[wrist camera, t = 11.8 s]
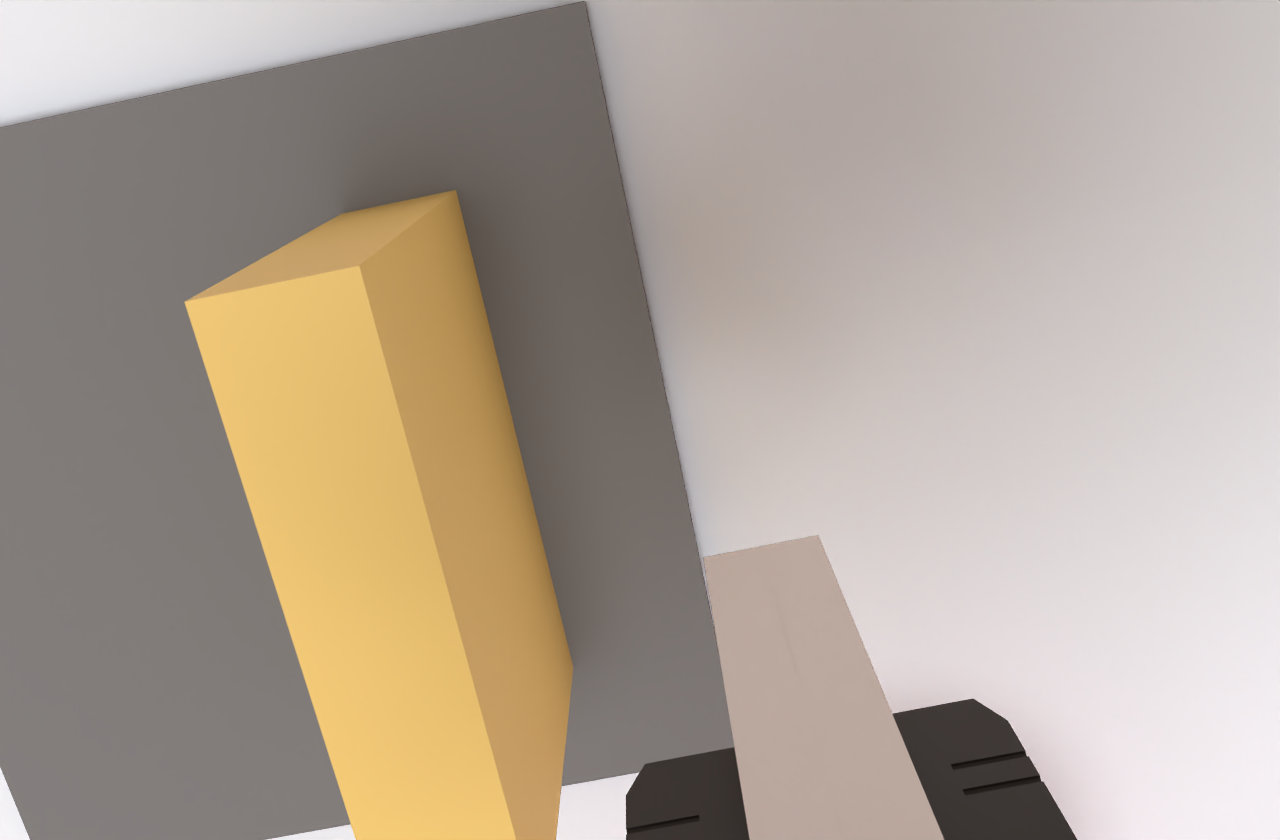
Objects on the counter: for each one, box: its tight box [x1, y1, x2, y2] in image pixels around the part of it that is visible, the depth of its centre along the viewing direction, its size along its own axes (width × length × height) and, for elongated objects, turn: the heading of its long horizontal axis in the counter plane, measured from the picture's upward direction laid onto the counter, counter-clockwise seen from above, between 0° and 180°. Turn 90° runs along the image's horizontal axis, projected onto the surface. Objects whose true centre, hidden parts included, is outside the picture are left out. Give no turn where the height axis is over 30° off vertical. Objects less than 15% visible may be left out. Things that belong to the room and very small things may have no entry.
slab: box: [185, 190, 573, 840], centre depth 22 cm, size 11×2×9 cm, turn 12°
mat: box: [0, 1, 734, 840], centre depth 27 cm, size 17×17×1 cm
